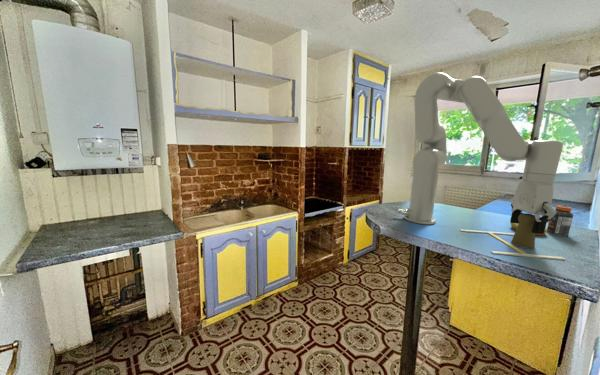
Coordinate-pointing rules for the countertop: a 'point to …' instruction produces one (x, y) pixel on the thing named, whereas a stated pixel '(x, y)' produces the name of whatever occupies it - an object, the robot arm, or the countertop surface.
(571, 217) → the pill bottle
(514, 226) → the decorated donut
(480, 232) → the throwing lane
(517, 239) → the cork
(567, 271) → the countertop surface
